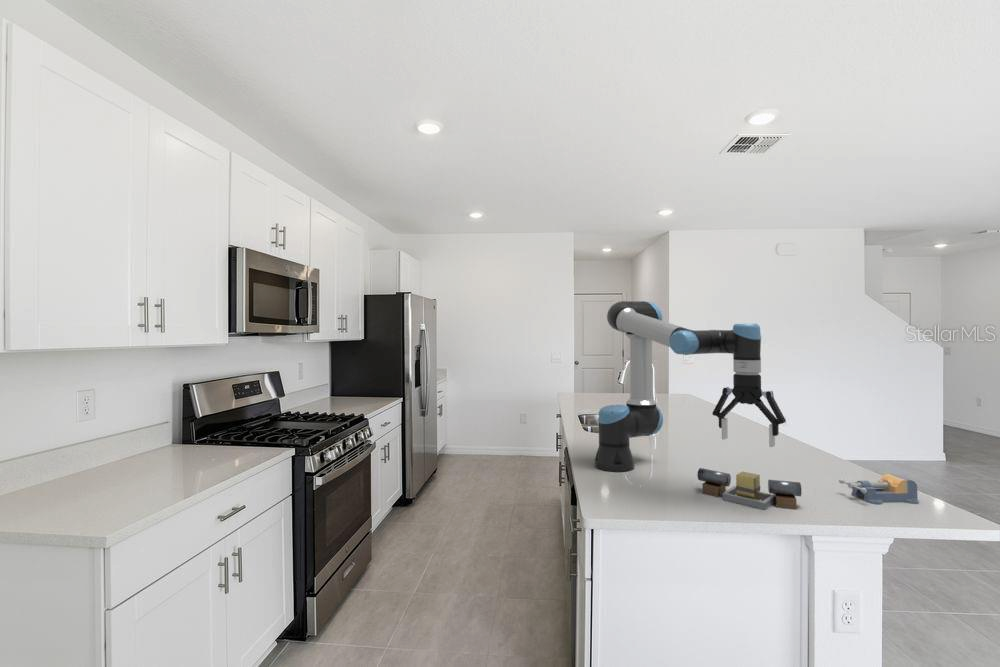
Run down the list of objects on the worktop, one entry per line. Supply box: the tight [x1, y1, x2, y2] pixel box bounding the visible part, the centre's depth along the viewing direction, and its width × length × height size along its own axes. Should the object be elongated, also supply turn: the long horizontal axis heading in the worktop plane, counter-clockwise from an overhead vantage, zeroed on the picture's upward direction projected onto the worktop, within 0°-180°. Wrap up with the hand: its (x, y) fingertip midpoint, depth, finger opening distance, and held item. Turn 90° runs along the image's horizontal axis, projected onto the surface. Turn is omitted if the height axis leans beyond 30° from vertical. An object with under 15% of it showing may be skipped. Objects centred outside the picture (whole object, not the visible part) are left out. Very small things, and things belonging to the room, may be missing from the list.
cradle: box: [722, 485, 775, 511], centre depth 142 cm, size 12×10×2 cm
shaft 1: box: [696, 467, 732, 498], centre depth 150 cm, size 9×6×7 cm, turn 43°
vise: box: [838, 473, 920, 505], centre depth 142 cm, size 18×10×7 cm, turn 90°
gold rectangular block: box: [735, 471, 761, 501], centre depth 142 cm, size 5×5×8 cm
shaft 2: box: [767, 479, 802, 510], centre depth 139 cm, size 8×6×7 cm
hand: (747, 442), depth 142 cm, fingers open, 13 cm apart
